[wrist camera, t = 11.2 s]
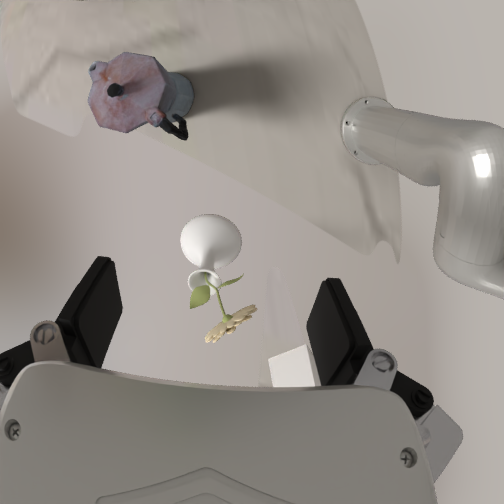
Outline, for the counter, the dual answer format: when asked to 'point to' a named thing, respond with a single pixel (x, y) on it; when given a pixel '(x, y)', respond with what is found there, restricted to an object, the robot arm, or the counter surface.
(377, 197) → the counter surface
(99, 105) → the moka pot
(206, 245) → the flower in vase
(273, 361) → the milk
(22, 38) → the counter surface
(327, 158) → the counter surface
